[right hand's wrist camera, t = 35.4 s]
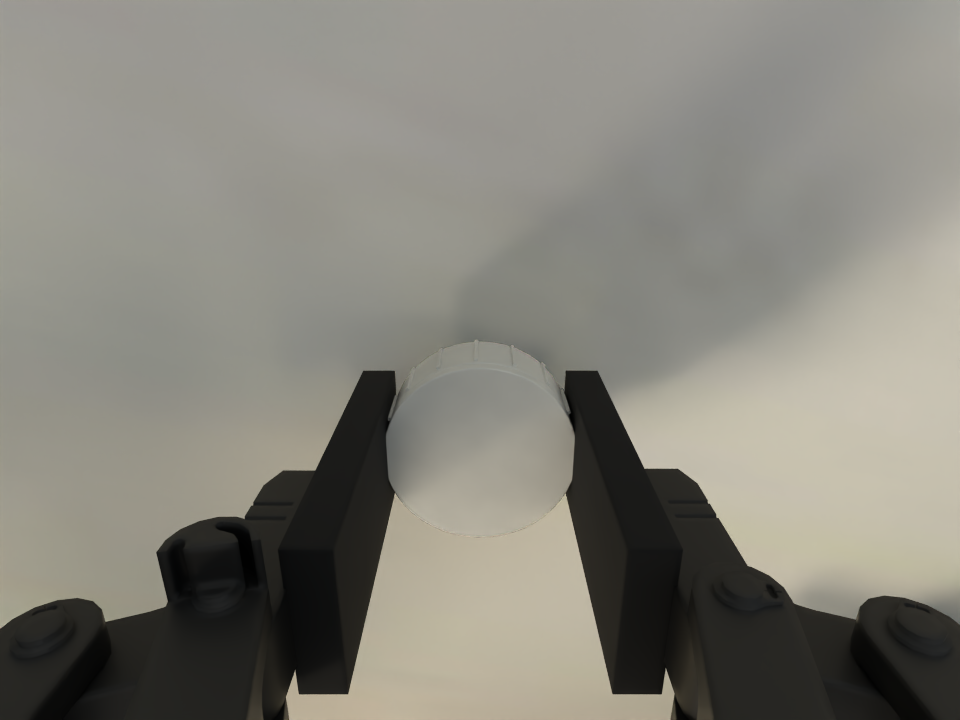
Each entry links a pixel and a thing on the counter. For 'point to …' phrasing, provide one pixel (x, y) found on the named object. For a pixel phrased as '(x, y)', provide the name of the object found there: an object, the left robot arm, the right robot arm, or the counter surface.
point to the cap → (480, 440)
